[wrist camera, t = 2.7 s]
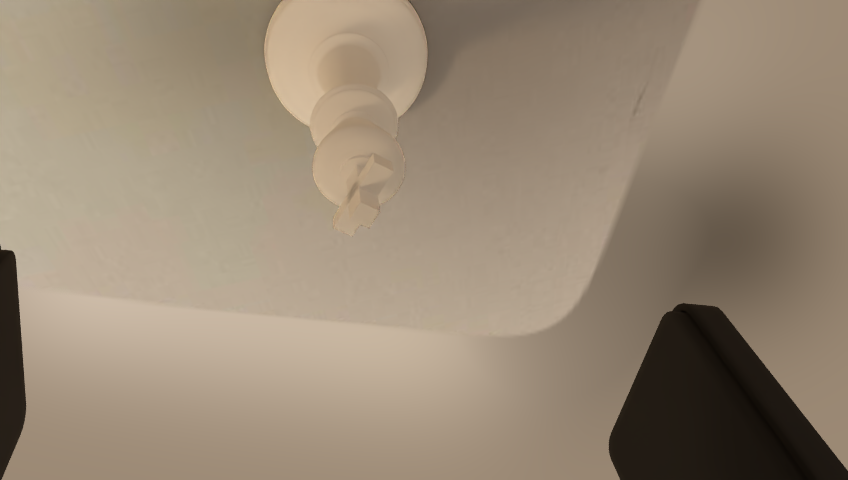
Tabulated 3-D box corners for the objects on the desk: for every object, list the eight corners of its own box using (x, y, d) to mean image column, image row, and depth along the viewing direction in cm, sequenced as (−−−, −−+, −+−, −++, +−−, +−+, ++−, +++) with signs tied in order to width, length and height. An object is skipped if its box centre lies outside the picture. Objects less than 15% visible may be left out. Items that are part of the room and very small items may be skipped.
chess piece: (236, 85, 23) (191, 261, 15) (312, -63, 21) (308, 43, 13) (376, 155, 25) (408, 348, 17) (457, 24, 23) (539, 168, 15)
